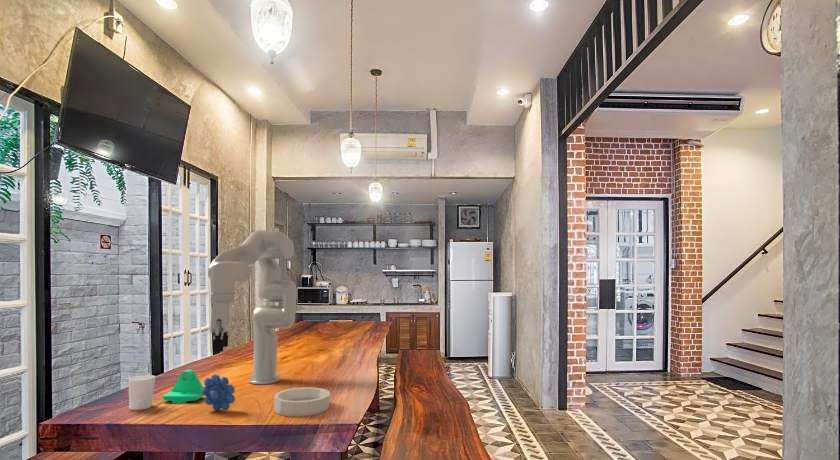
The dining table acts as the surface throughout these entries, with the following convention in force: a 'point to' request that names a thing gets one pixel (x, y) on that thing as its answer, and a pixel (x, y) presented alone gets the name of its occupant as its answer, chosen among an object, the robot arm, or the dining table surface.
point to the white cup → (141, 392)
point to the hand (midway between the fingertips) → (220, 349)
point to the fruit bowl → (301, 402)
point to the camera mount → (185, 388)
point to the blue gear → (218, 392)
